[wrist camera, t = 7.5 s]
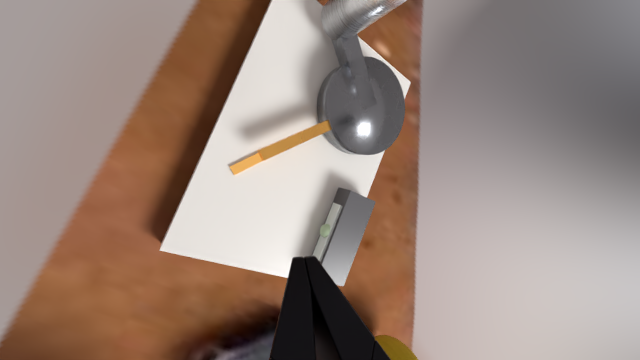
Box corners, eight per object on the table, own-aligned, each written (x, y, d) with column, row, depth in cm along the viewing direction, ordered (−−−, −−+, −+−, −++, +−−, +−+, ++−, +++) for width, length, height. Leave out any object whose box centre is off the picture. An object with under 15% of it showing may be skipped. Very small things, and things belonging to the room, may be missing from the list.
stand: (324, 280, 26) (343, 298, 23) (161, 243, 18) (156, 261, 15) (399, 85, 27) (427, 77, 24) (278, -17, 20) (294, -46, 17)
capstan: (276, 200, 20) (362, 249, 11) (201, 36, 17) (225, -125, 7) (397, 135, 26) (529, 126, 16) (361, -1, 22) (503, -121, 12)
